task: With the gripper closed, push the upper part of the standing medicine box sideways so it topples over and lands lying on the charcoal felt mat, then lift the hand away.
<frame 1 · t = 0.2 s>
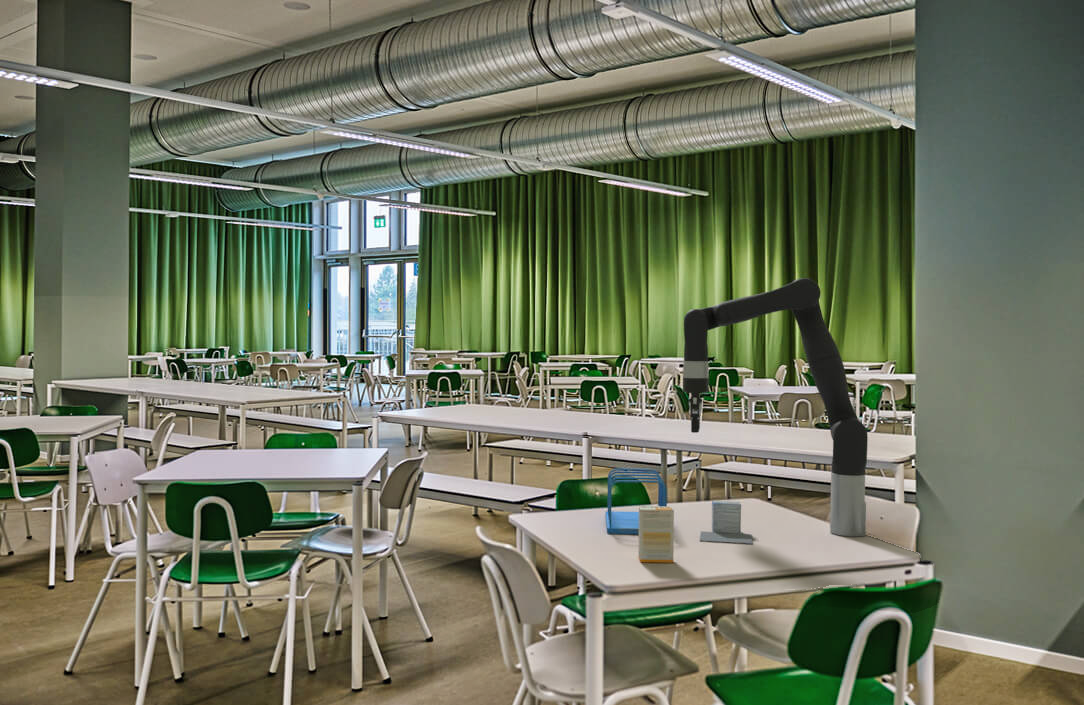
hand: (695, 431, 260), 28 cm above the table, tool pointing down, fingers open, 8 cm apart
file sorter: (635, 526, 257), on the table
felt mat: (726, 538, 242), on the table
medicine box: (725, 533, 250), on the table
supplement box: (655, 561, 214), on the table
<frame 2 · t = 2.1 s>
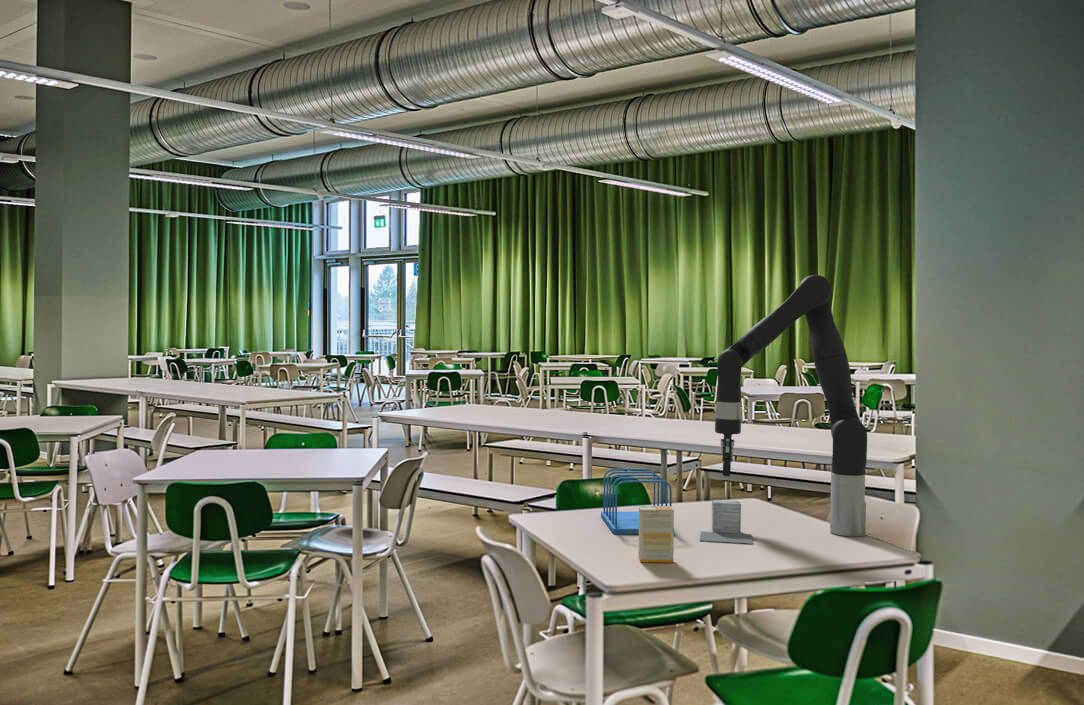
hand: (726, 475, 259), 15 cm above the table, tool pointing down, fingers closed
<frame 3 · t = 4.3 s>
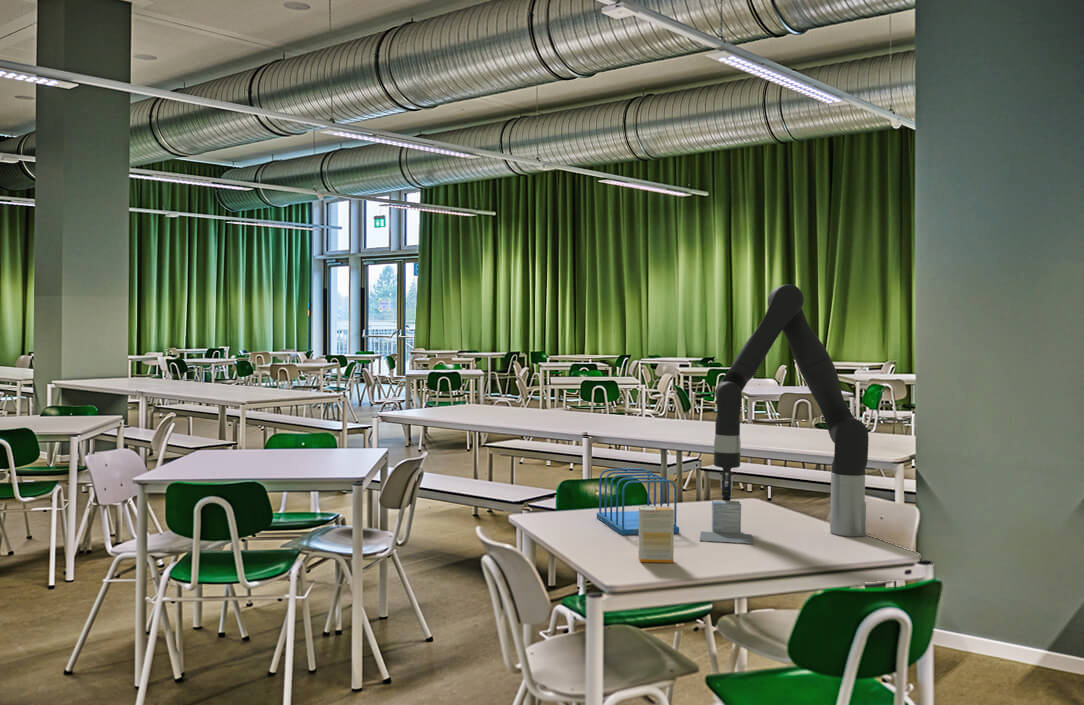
hand: (726, 509, 254), 6 cm above the table, tool pointing down, fingers closed
medicine box: (725, 532, 250), on the table, touching gripper
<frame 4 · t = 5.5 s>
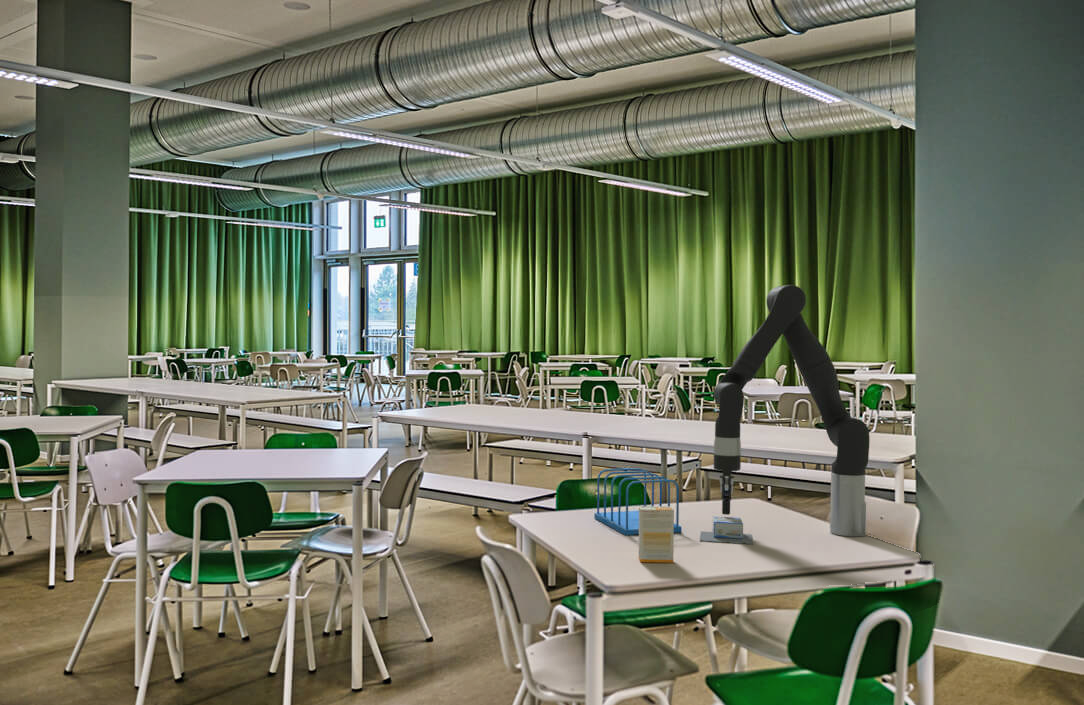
hand: (726, 513, 248), 6 cm above the table, tool pointing down, fingers closed
medicine box: (726, 524, 249), point 2 cm above the table, touching felt mat
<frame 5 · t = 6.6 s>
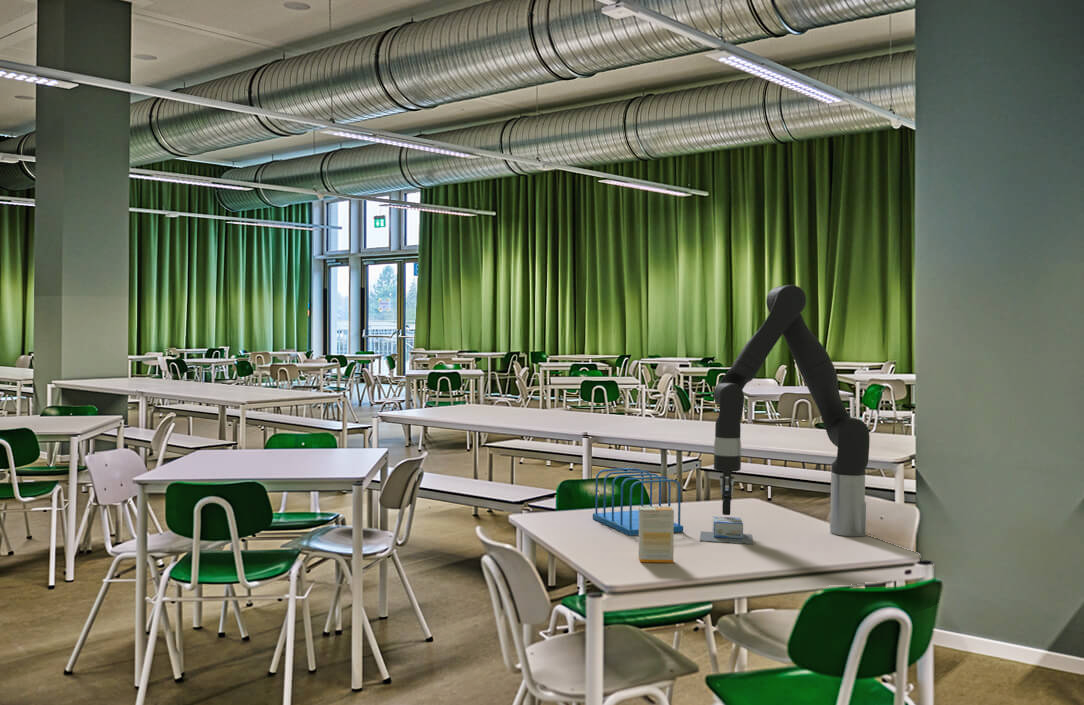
hand: (726, 514, 248), 6 cm above the table, tool pointing down, fingers closed
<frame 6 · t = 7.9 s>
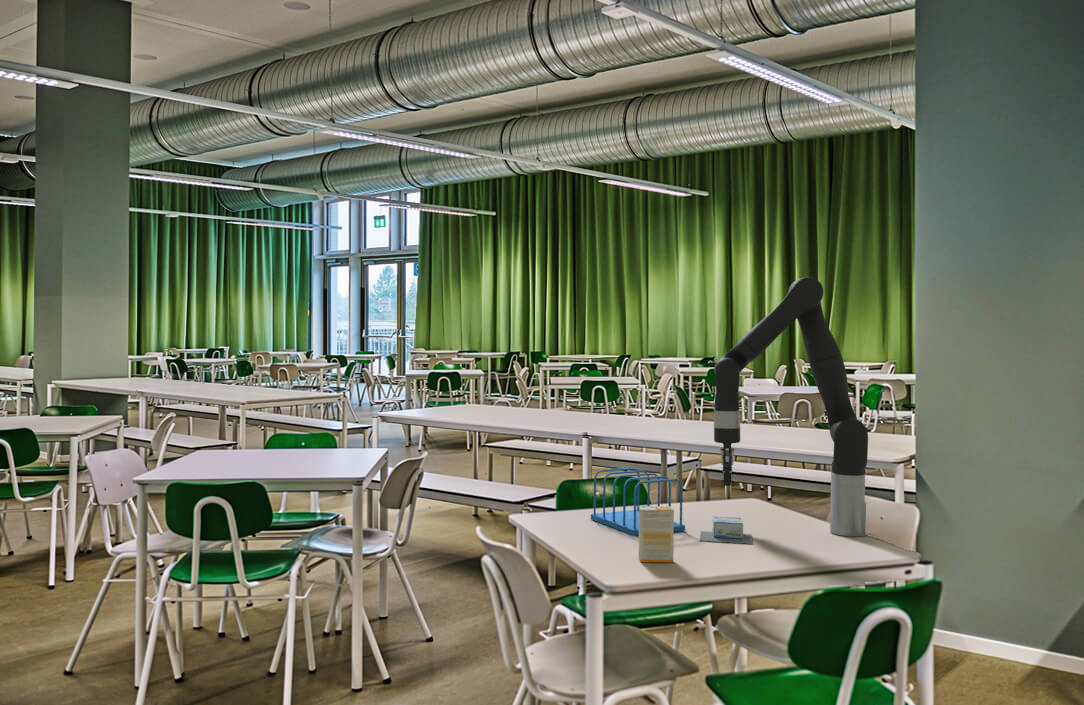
hand: (727, 485, 256), 12 cm above the table, tool pointing down, fingers closed
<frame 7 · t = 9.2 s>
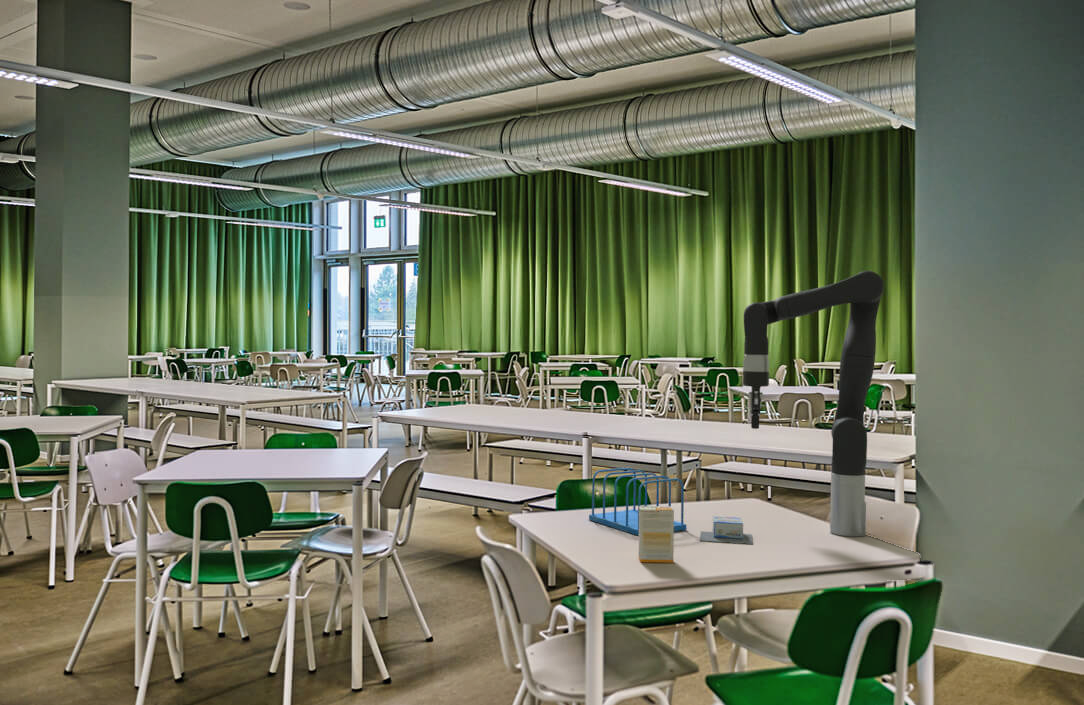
hand: (755, 428, 260), 29 cm above the table, tool pointing down, fingers closed
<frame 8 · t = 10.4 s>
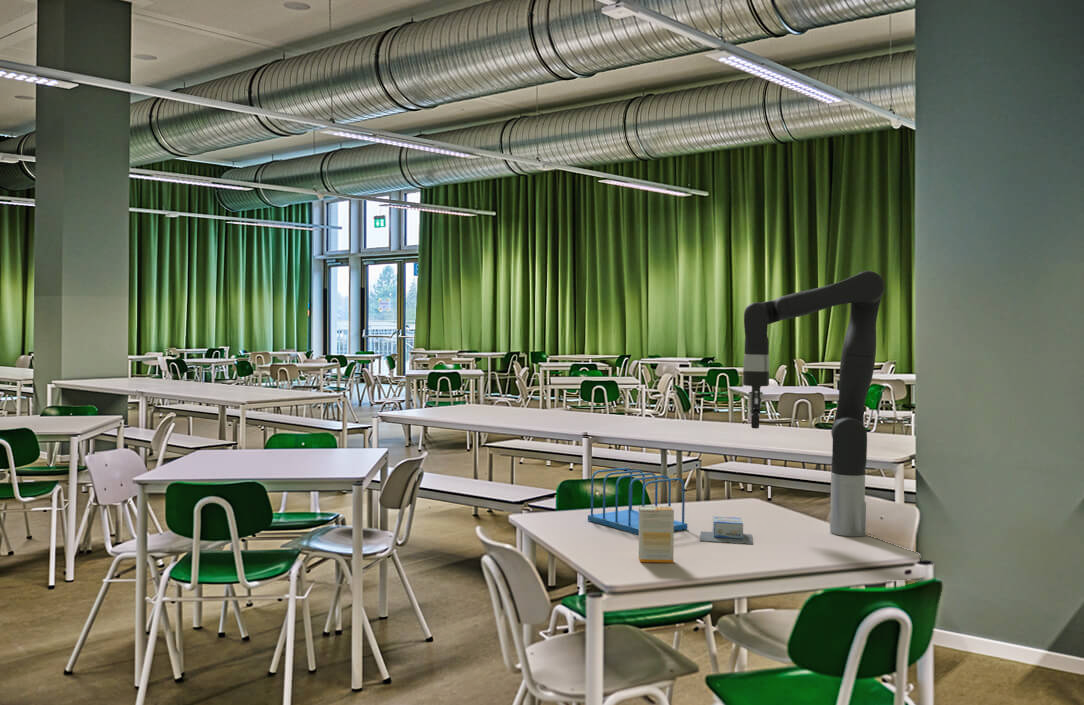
hand: (755, 428, 260), 29 cm above the table, tool pointing down, fingers closed
at the end: medicine box tilted 89°; medicine box inside the target area (5.4 cm from its centre), point 2.5 cm above the table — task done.
